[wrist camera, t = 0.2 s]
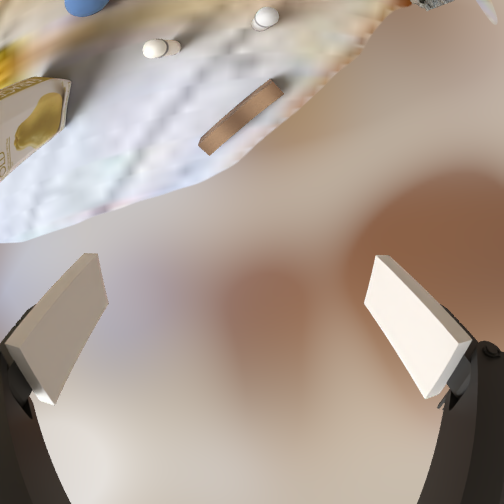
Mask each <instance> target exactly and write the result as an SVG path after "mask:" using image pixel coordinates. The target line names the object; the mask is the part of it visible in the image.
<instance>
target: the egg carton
mask: <svg viewBox="0 0 504 504" xmlns="http://www.w3.org/2000/svg"><path fill="white" fill-rule="evenodd" d="M410 1H411V2H412V4H417V5H418V6H420V7H421V8H425V9H426V10H427V11H428V10H430V9H433V8H436V7H438V6H441V5H444V4H447V3H449V2H452V1H454V0H410Z"/></svg>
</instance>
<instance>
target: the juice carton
mask: <svg viewBox="0 0 504 504" xmlns="http://www.w3.org/2000/svg"><path fill="white" fill-rule="evenodd" d="M70 89H71V81H70V80H66V79H59V78H48V77H31V78H28V79H25V80H22V81H20V82H17V83H15V84H12V85H10V86H7V87H5V88H3V89H0V182H1V181H2V180H3V179H4V178H5V177H6V176H8V175H9V174H10V173H11V172H12V171H13V170H14V169H15V168H16V167H18V166H19V165H20V164H21V163H22V162H23V161H25V160H26V159H27V158H28V157H29V156H31V155H32V154H33V153H34V152H35V151H37V150H38V149H39V148H41V147H42V146H43V145H44V144H46V143H47V142H48V141H50V140H51V139H52V138H53V137H55V136H56V135H57V134H58V133H59V132H61V131H62V130H63V129H64V128H65V121H66V112H67V104H68V99H69V94H70Z"/></svg>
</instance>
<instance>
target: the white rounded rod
mask: <svg viewBox="0 0 504 504" xmlns="http://www.w3.org/2000/svg"><path fill="white" fill-rule="evenodd" d="M278 19H279V14H278V12H277V11H276V10H275V9H274V8H271V7H263V8H261V9H260V10H259V11H258V12H257V13H256V14H255V17H254V19H253V20H252V23H251V25H252V28H253V29H254V30H256V31H264V30H265V29H267V28H269V27H271V26H273V25H274V24H275V23H276V22H277V21H278Z"/></svg>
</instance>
